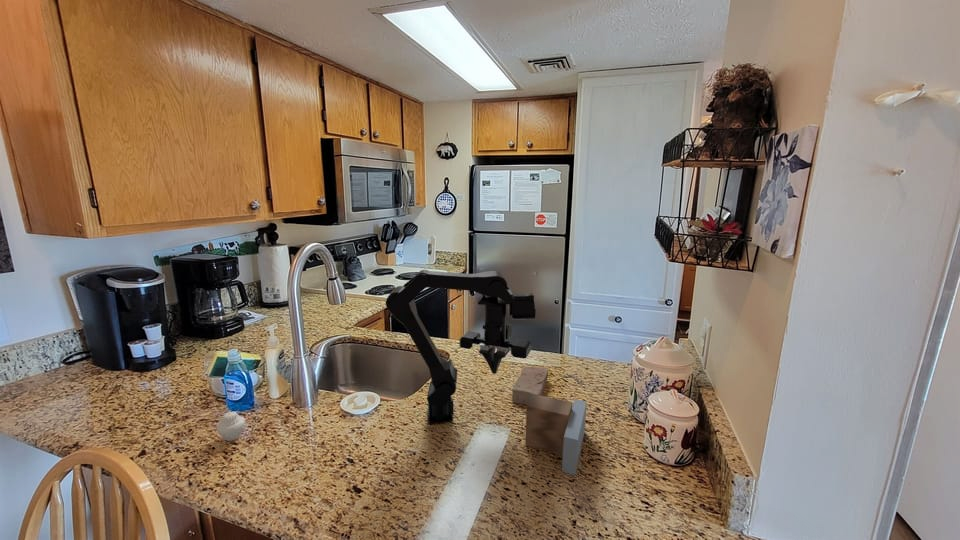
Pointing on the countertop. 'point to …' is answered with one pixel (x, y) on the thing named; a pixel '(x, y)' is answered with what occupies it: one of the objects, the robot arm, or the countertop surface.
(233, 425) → the grey rounded lump
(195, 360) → the countertop surface
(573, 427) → the slate board
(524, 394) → the brick
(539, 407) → the walnut box
